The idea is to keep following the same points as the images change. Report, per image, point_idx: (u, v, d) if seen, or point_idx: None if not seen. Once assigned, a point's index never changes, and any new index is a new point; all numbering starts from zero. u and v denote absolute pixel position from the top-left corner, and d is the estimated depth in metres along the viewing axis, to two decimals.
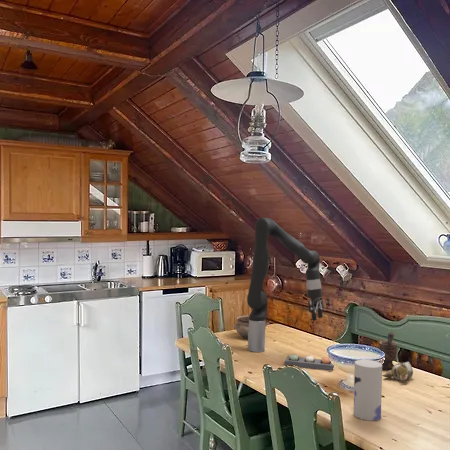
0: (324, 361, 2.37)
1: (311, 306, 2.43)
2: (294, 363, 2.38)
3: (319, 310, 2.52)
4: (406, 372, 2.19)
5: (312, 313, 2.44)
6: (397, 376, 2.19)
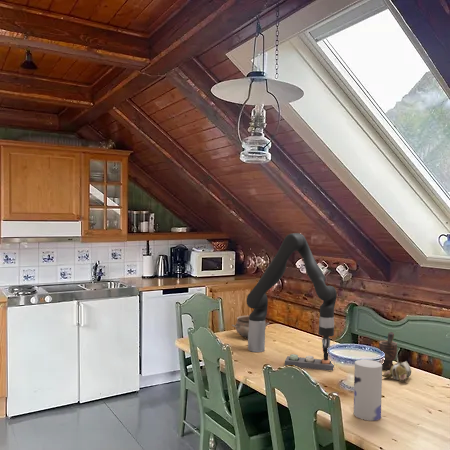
0: (324, 362, 2.37)
1: (326, 349, 2.34)
2: (294, 363, 2.38)
3: None
4: (405, 372, 2.20)
5: (325, 353, 2.37)
6: (396, 376, 2.19)
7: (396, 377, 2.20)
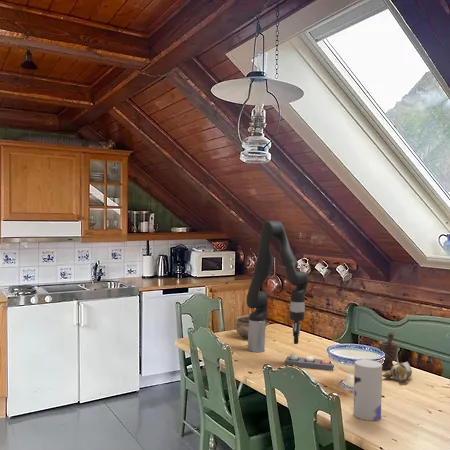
0: (324, 363, 2.37)
1: (296, 333, 2.39)
2: (294, 363, 2.38)
3: None
4: (405, 372, 2.19)
5: (295, 337, 2.42)
6: (396, 376, 2.19)
7: (396, 377, 2.19)
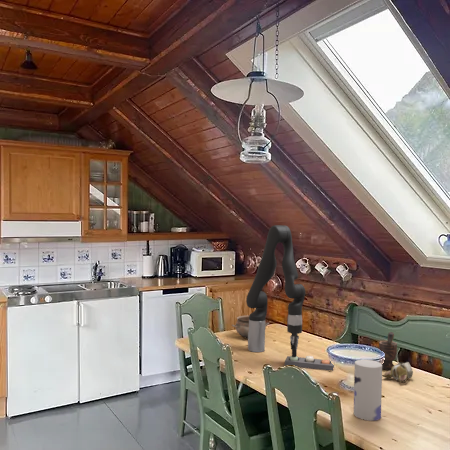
0: (324, 363, 2.37)
1: (293, 346, 2.38)
2: (294, 363, 2.38)
3: None
4: (405, 372, 2.19)
5: (293, 350, 2.41)
6: (396, 376, 2.19)
7: (396, 377, 2.19)
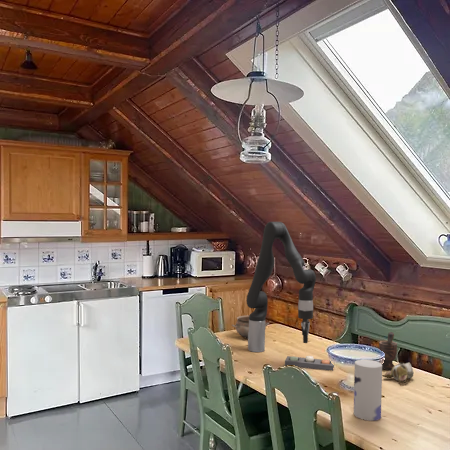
0: (324, 363, 2.37)
1: (304, 331, 2.36)
2: (294, 363, 2.38)
3: None
4: (406, 373, 2.18)
5: (304, 336, 2.39)
6: (396, 377, 2.18)
7: (396, 378, 2.19)
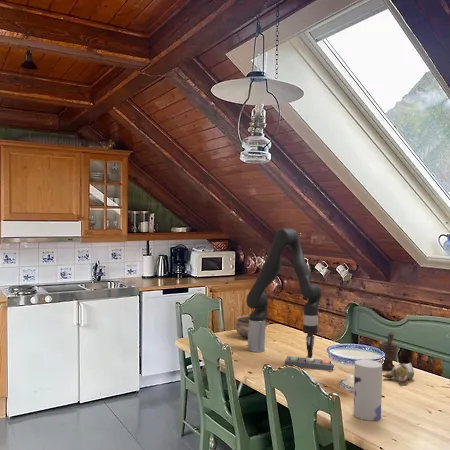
0: (324, 363, 2.37)
1: (309, 346, 2.36)
2: (294, 363, 2.38)
3: None
4: (406, 373, 2.18)
5: (309, 350, 2.39)
6: (396, 377, 2.18)
7: (397, 378, 2.18)
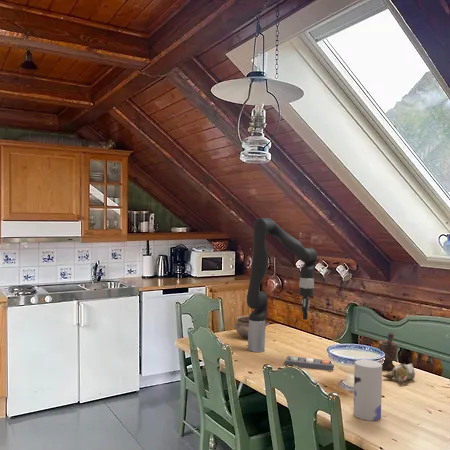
0: (324, 363, 2.37)
1: (305, 308, 2.43)
2: (294, 363, 2.38)
3: None
4: (406, 373, 2.17)
5: (304, 312, 2.46)
6: (396, 377, 2.18)
7: (397, 378, 2.18)
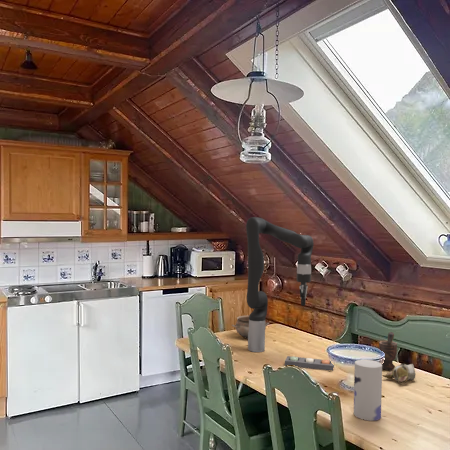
0: (324, 363, 2.37)
1: (303, 294, 2.46)
2: (294, 363, 2.38)
3: None
4: (406, 374, 2.17)
5: (302, 298, 2.49)
6: (397, 377, 2.17)
7: (397, 378, 2.18)
